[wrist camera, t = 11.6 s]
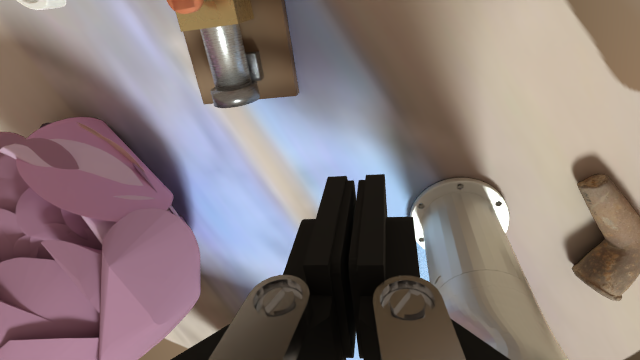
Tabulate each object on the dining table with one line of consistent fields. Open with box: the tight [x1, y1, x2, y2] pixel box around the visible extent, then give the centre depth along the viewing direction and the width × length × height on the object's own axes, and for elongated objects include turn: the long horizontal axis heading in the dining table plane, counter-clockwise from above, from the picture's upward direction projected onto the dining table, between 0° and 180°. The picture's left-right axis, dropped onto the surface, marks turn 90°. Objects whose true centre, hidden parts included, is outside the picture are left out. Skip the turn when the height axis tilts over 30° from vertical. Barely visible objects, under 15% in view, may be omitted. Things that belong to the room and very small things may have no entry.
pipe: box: [572, 174, 640, 301], centre depth 47 cm, size 6×17×10 cm
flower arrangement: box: [0, 117, 201, 360], centre depth 47 cm, size 35×24×28 cm
